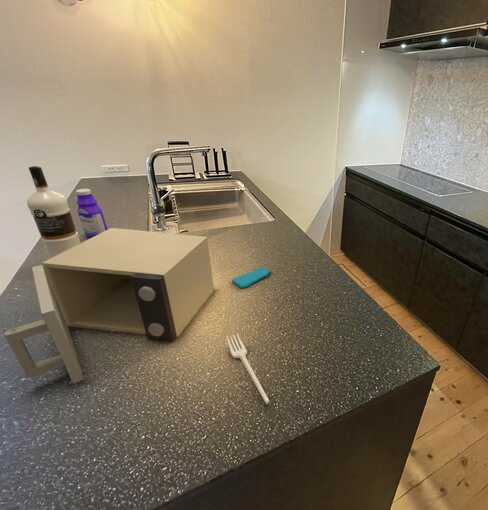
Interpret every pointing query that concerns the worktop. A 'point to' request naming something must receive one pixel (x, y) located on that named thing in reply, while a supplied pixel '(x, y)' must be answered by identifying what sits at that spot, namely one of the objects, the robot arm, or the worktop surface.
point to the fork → (246, 364)
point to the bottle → (90, 213)
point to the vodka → (51, 216)
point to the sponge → (251, 277)
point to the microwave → (133, 282)
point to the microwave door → (51, 322)
